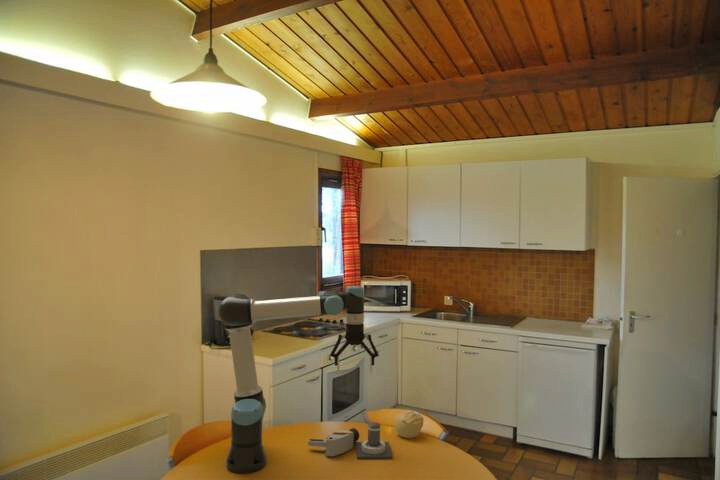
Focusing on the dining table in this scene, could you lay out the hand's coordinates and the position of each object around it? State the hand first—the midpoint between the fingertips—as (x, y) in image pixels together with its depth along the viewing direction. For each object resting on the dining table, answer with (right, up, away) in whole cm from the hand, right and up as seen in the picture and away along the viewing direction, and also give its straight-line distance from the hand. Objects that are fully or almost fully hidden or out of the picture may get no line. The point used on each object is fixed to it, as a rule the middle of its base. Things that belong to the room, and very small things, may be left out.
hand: (354, 373), depth 210 cm
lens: (+8, -30, -5) cm, 31 cm away
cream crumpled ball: (+24, -31, +12) cm, 41 cm away
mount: (+8, -31, -5) cm, 32 cm away
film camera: (-9, -31, -1) cm, 32 cm away
